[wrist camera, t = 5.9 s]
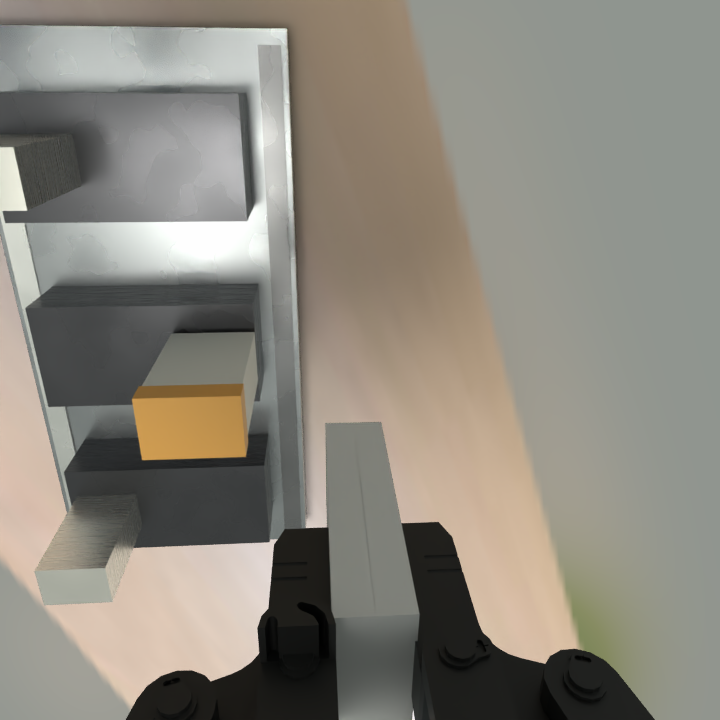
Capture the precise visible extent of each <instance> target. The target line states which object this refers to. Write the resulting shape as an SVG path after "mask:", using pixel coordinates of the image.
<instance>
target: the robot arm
mask: <svg viewBox="0 0 720 720" xmlns="http://www.w3.org/2000/svg"><path fill="white" fill-rule="evenodd" d="M325 424H326V506H327V528H300V529H284V531H283V532H282V534H281V535H280V537H279V538H278V540H277V541H276V543H275V544H274V552H273V566H272V575H271V586H270V598H269V609H268V610H267V611H266V612H265V613H264V614H263V615H262V617H261V619H260V622H259V625H258V641H259V655H258V656H257V657H256V658H255V659H254V660H253V661H252V662H251V663H250V664H249V665H247V666H246V667H244V668H243V669H242V670H239V671H237V672H235V673H233V674H231V675H228V676H225V677H222V678H219V679H217V680H214V681H210V680H209V679H208V678H207V677H206V676H205V675H203V674H200V673H197V672H195V671H175V672H172V673H169V674H166V675H163V676H161V677H159V678H158V679H156V680H155V681H154V682H152V683H151V684H149V685H148V686H147V687H146V688H145V690H144V691H143V692H142V693H141V695H140V696H139V697H138V699H137V700H136V702H135V704H134V706H133V707H132V709H131V711H130V713H129V715H128V717H127V718H126V720H412V713H413V710H414V716H415V720H655V719H654V718H653V717H652V716H651V714H650V713H649V712H648V711H647V709H646V708H645V707H644V706H643V704H642V703H641V702H640V701H639V699H638V698H637V697H636V695H635V694H634V693H633V692H632V690H631V689H630V688H629V687H628V685H627V684H626V683H625V682H624V680H623V679H622V678H621V677H620V676H619V674H618V673H617V672H616V671H615V670H614V669H613V668H612V667H611V666H610V665H609V664H608V663H607V662H606V661H604V660H603V659H601V658H599V657H597V656H595V655H594V654H592V653H590V652H586V651H582V650H577V649H568V650H560V651H558V652H557V653H555V654H553V655H551V656H550V657H549V659H548V661H547V662H546V664H543V663H539V662H535V661H531V660H526V659H522V658H519V657H516V656H513V655H510V654H507V653H506V652H504V651H502V650H500V649H499V648H497V647H496V646H495V645H494V644H492V642H491V640H490V639H489V638H488V637H487V636H486V635H485V634H484V633H483V632H482V630H481V628H480V626H479V623H478V620H477V617H476V614H475V610H474V607H473V604H472V600H471V597H470V594H469V591H468V587H467V584H466V581H465V578H464V574H463V572H462V568H461V565H460V561H459V558H458V557H457V551H456V548H455V545H454V542H453V538H452V536H451V535H450V534H449V533H448V532H447V531H446V530H445V529H444V528H443V526H442V525H441V524H440V523H439V522H428V523H401V519H400V514H399V509H398V504H397V499H396V494H395V489H394V484H393V479H392V474H391V469H390V464H389V459H388V454H387V449H386V444H385V439H384V434H383V429H382V424H381V422H362V423H325Z"/></svg>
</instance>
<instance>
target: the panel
mask: <svg viewBox="0 0 720 720" xmlns="http://www.w3.org/2000/svg"><path fill="white" fill-rule="evenodd" d="M0 235H1V240H2V244H3V248H4V252H5V256H6V260H7V265H8V269H9V273H10V277H11V281H12V285H13V290H14V294H15V298H16V302H17V306H18V310H19V315H20V319H21V323H22V327H23V331H24V335H25V340H26V344H27V348H28V352H29V356H30V360H31V365H32V369H33V373H34V377H35V381H36V385H37V390H38V394H39V398H40V402H41V406H42V410H43V415H44V419H45V423H46V427H47V431H48V435H49V440H50V444H51V448H52V452H53V456H54V460H55V465H56V469H57V473H58V477H59V481H60V485H61V490H62V494H63V498H64V502H65V506H66V510H67V515H66V517H65V518H64V520H63V522H62V524H61V525H60V527H59V529H58V531H57V532H56V534H55V536H54V538H53V540H52V541H51V543H50V545H49V547H48V548H47V550H46V552H45V554H44V555H43V557H42V559H41V561H40V562H39V564H38V566H37V568H36V569H35V575H36V578H37V582H38V585H39V589H40V592H41V596H42V600H43V603H44V605H59V604H80V603H102V602H113V599H114V597H115V594H116V592H117V589H118V586H119V584H120V581H121V579H122V576H123V574H124V571H125V568H126V566H127V563H128V561H129V558H130V555H131V553H132V550H133V548H141V547H165V546H189V545H213V544H237V543H261V542H270V539H278V538H279V537H280V535H281V534H282V532H283V531H284V529H300V528H306V498H305V471H304V444H303V417H302V390H301V363H300V337H299V310H298V283H297V256H296V229H295V202H294V175H293V148H292V121H291V95H290V68H289V41H288V31H287V29H272V28H196V27H120V26H43V25H0ZM227 332H255V346H256V360H257V374H258V383H257V389H256V394H255V399H254V405H253V410H252V416H251V421H250V426H249V432H248V448H247V453H246V457H227V458H196V459H165V460H142V456H141V451H140V445H139V439H138V433H137V427H136V421H135V415H134V409H133V403H132V398H133V396H134V394H135V392H136V391H137V389H138V387H139V386H142V385H143V383H144V381H145V380H146V378H147V376H148V374H149V372H150V371H151V369H152V367H153V365H154V363H155V362H156V360H157V358H158V356H159V355H160V353H161V351H162V349H163V347H164V346H165V344H166V342H167V340H168V339H169V337H170V335H171V334H175V333H227Z"/></svg>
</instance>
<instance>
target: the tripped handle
mask: <svg viewBox="0 0 720 720" xmlns="http://www.w3.org/2000/svg"><path fill="white" fill-rule="evenodd" d="M257 383H258V374H257V360H256V346H255V332H227V333H175V334H171V335H170V337H169V339H168V340H167V342H166V344H165V346H164V347H163V349H162V351H161V353H160V355H159V356H158V358H157V360H156V362H155V363H154V365H153V367H152V369H151V371H150V372H149V374H148V376H147V378H146V380H145V381H144V383H143V385H142V386H139V387H138V389H137V391H136V392H135V394H134V396H133V398H132V403H133V409H134V415H135V421H136V427H137V433H138V439H139V445H140V451H141V456H142V460H165V459H196V458H227V457H246V453H247V448H248V432H249V426H250V421H251V416H252V410H253V405H254V399H255V394H256V389H257Z"/></svg>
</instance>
